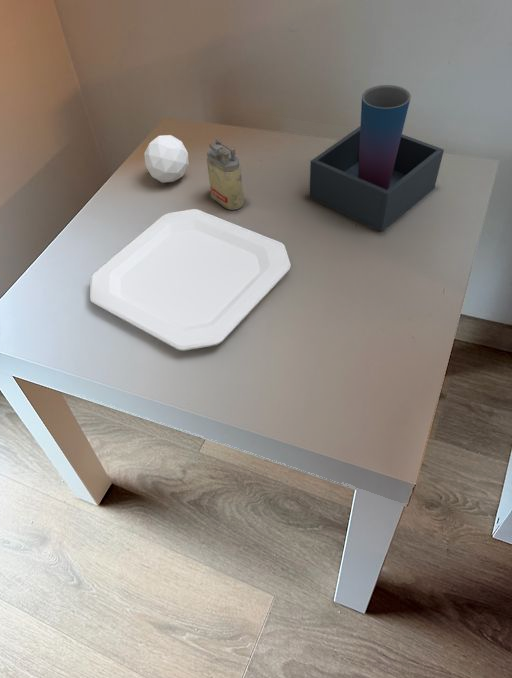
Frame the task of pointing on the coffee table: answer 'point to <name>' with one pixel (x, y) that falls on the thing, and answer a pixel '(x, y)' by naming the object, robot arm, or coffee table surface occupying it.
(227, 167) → the lighter
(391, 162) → the cup
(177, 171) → the geometric ball
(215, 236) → the plate
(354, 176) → the tub
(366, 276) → the coffee table surface
